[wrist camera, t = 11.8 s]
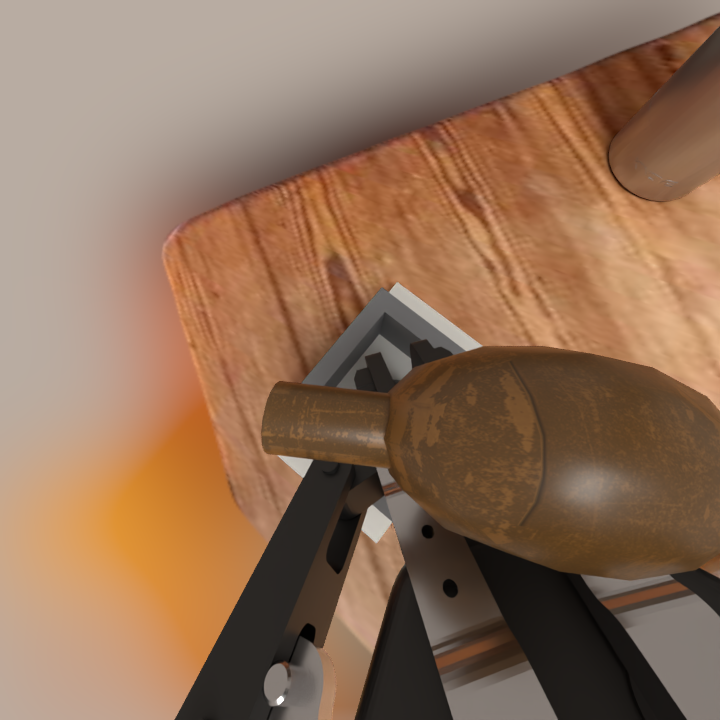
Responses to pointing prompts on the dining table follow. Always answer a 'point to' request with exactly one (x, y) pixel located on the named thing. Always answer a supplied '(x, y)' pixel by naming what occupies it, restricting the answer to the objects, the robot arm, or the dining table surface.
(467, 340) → the socket board
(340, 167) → the dining table surface
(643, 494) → the wooden tabletop sculpture
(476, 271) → the dining table surface
